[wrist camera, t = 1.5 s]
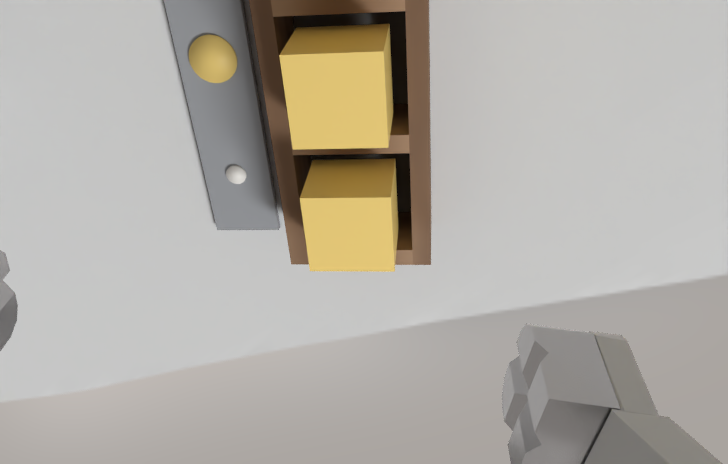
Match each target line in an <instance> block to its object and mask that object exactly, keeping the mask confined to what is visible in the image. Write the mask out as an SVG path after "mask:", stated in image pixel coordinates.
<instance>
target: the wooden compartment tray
mask: <svg viewBox="0 0 728 464" xmlns="http://www.w3.org/2000/svg"><path fill="white" fill-rule="evenodd" d="M249 4H250V11H251V17H252V23H253V29H254V35H255V41H256V48H257V54H258V60H259V66H260V72H261V79H262V85H263V91H264V97H265V103H266V110H267V116H268V122H269V128H270V134H271V141H272V147H273V153H274V159H275V165H276V172H277V178H278V184H279V190H280V196H281V202H282V209H283V215H284V221H285V227H286V233H287V240H288V246H289V252H290V258H291V264H309V260H308V253H307V246H306V239H305V232H304V225H303V218H302V211H301V204H300V196H301V193H302V190H303V187H304V184H305V181H306V179H307V176H308V173H309V170H310V167H311V158H310V155H334V154H393V153H410V185H411V212H398V239H397V250H396V261H395V265H431V158H430V53H429V0H249ZM397 11H405V17H406V51H407V84H408V104H393V118H392V126H391V133H390V140H389V147H388V148H351V149H296V150H293V148H292V141H291V134H290V127H289V120H288V113H287V106H286V99H285V92H284V85H283V78H282V71H281V64H280V57H279V55H280V53H281V52H282V50H283V48H284V47H285V45H286V44H287V42H288V40H289V39H290V37H291V36H292V34H293V32H294V24H293V16H304V15H327V14H351V13H374V12H397Z"/></svg>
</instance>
